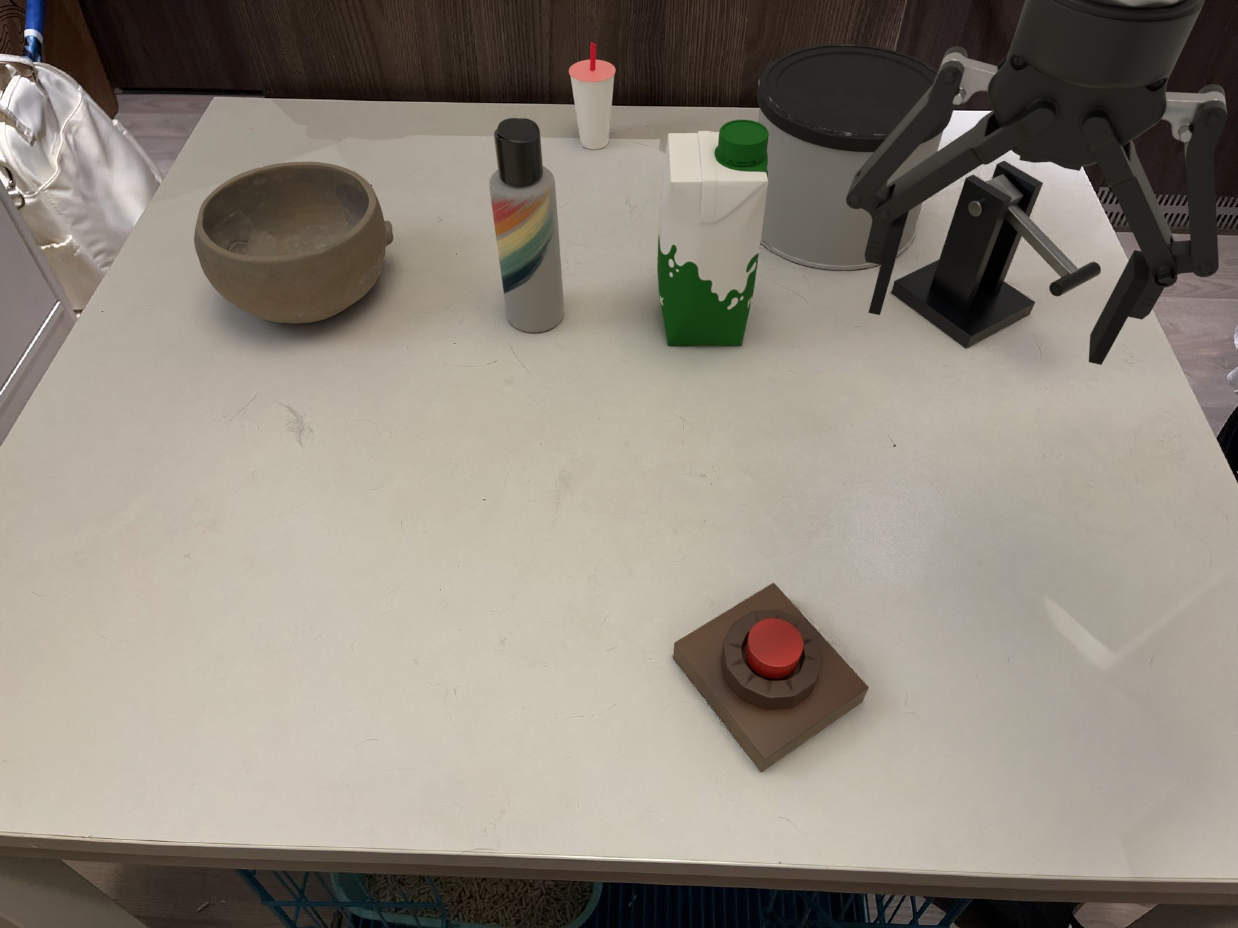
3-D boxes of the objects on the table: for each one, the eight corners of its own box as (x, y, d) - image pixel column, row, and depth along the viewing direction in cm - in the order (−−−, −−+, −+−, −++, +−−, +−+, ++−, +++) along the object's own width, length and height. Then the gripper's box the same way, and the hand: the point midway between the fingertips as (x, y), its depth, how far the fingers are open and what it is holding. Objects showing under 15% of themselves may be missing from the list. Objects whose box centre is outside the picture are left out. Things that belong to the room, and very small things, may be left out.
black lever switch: (1030, 314, 88) (1085, 190, 77) (966, 348, 84) (1014, 225, 74) (953, 261, 93) (995, 140, 82) (890, 292, 90) (925, 170, 79)
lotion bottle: (526, 290, 91) (505, 102, 75) (575, 306, 89) (563, 117, 74) (496, 323, 87) (467, 133, 72) (545, 341, 86) (527, 150, 70)
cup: (616, 130, 110) (615, 32, 101) (616, 153, 107) (615, 54, 98) (572, 130, 110) (567, 32, 101) (572, 154, 107) (566, 54, 98)
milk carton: (752, 352, 84) (779, 161, 69) (656, 352, 84) (662, 161, 69) (744, 293, 90) (768, 104, 75) (654, 293, 90) (660, 105, 75)
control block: (862, 701, 61) (875, 674, 58) (761, 772, 58) (768, 748, 55) (770, 597, 67) (776, 568, 64) (672, 657, 64) (674, 629, 61)
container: (869, 295, 90) (905, 159, 78) (711, 230, 97) (722, 98, 85) (945, 207, 99) (986, 75, 88) (796, 154, 107) (816, 26, 95)
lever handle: (1091, 283, 78) (1108, 265, 76) (1053, 303, 76) (1069, 286, 74) (999, 188, 82) (1013, 168, 80) (961, 205, 80) (974, 186, 78)
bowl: (412, 239, 96) (394, 154, 89) (379, 351, 85) (354, 265, 77) (255, 237, 97) (222, 153, 89) (200, 348, 85) (158, 263, 78)
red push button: (810, 661, 60) (814, 648, 58) (768, 689, 58) (771, 676, 57) (775, 622, 61) (779, 608, 60) (734, 647, 60) (737, 635, 59)
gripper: (1416, -22, 40) (1192, 333, 57) (867, -87, 46) (806, 251, 63) (1451, 50, 36) (1196, 413, 52) (838, -32, 42) (780, 317, 58)
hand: (983, 325), depth 57 cm, fingers open, 13 cm apart
